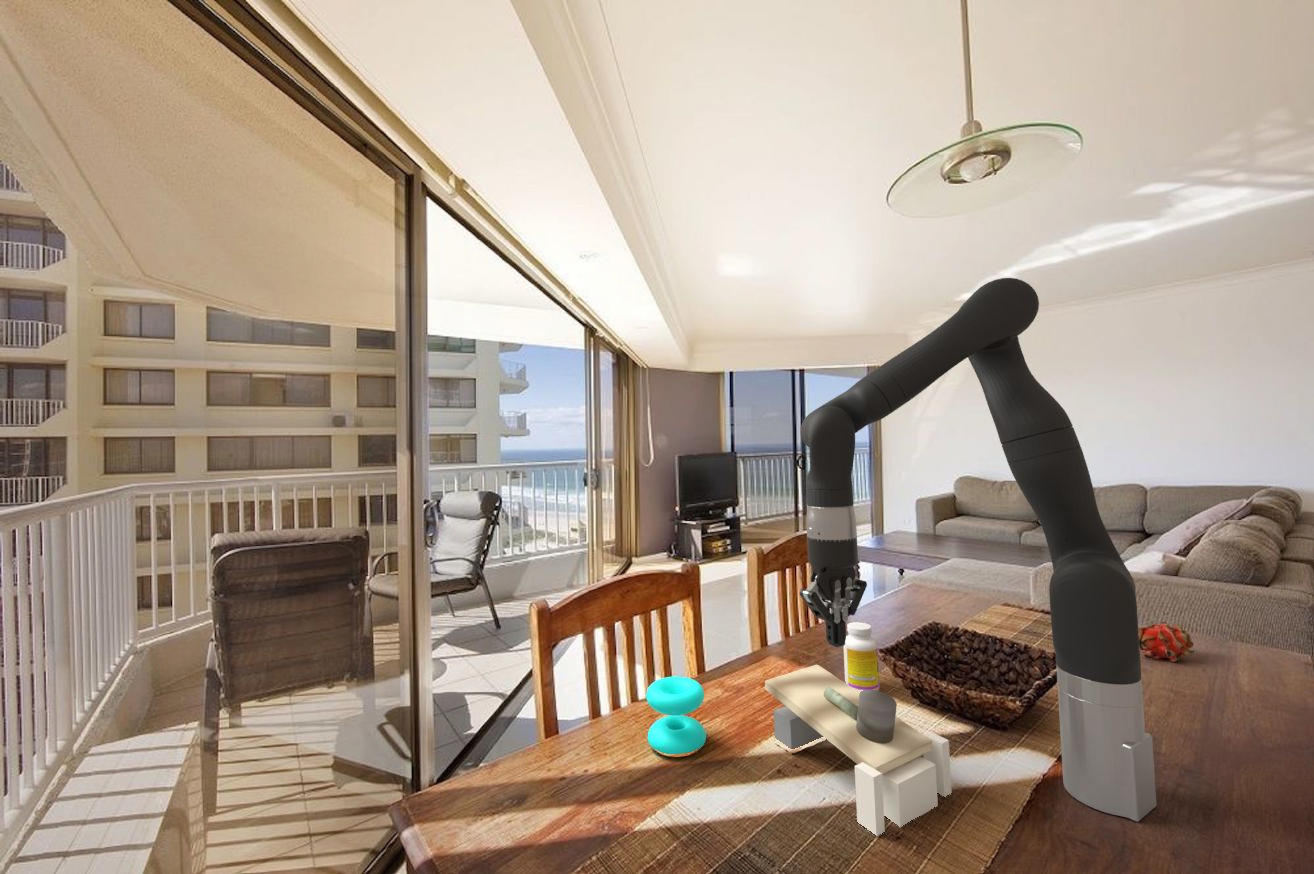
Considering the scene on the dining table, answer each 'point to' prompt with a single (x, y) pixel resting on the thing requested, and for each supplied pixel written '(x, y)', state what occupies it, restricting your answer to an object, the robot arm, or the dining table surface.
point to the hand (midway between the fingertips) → (836, 644)
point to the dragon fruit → (1164, 641)
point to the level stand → (883, 777)
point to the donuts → (676, 715)
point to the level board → (850, 718)
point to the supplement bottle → (861, 657)
